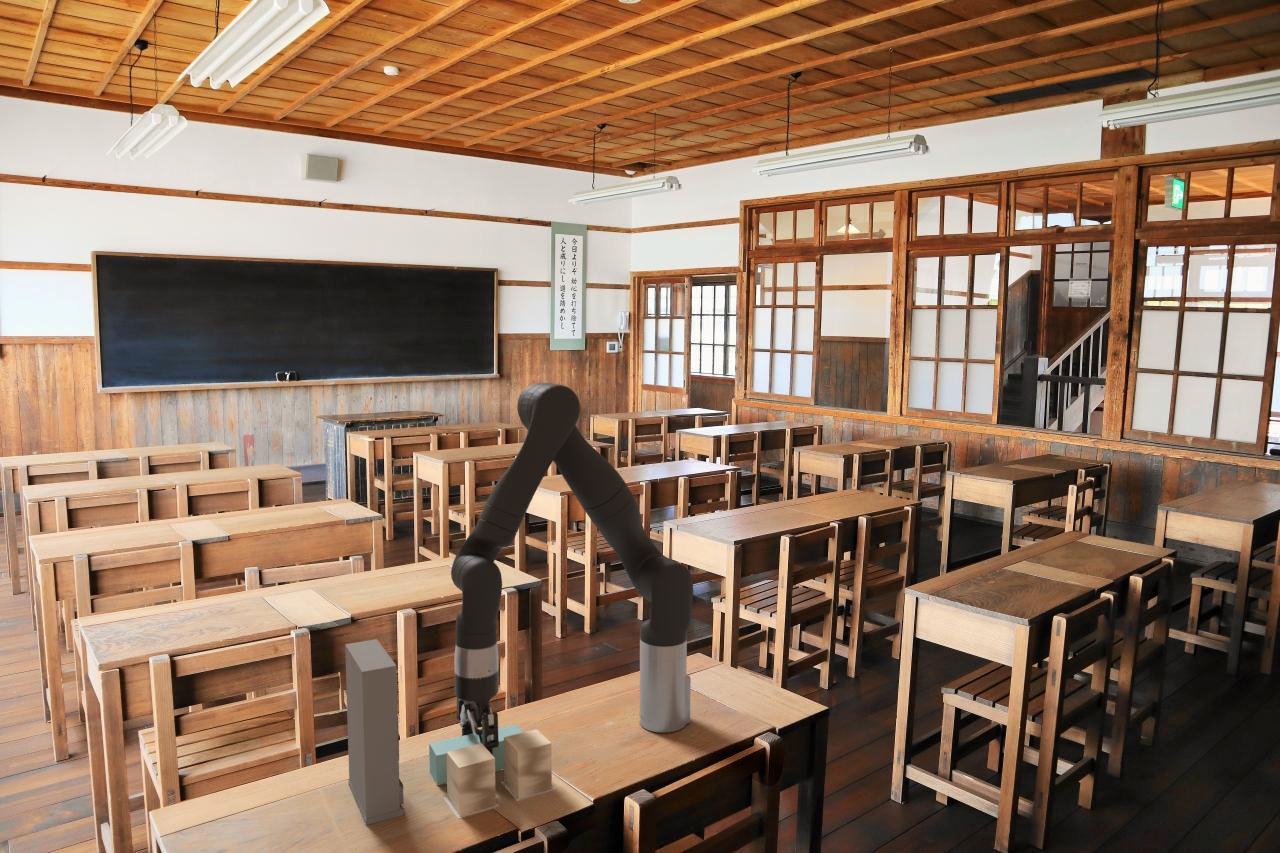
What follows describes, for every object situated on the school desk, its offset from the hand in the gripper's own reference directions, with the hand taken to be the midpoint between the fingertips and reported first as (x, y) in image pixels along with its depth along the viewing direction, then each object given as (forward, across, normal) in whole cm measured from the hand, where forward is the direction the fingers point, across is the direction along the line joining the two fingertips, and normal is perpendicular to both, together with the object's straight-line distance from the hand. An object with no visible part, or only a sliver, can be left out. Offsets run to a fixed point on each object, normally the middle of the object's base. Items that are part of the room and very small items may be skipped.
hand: (476, 757), depth 147 cm
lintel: (+3, 0, 0) cm, 3 cm away
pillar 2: (+2, -10, -5) cm, 11 cm away
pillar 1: (+2, -10, +5) cm, 11 cm away
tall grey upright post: (+3, -1, +18) cm, 18 cm away
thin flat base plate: (+3, -10, 0) cm, 10 cm away
